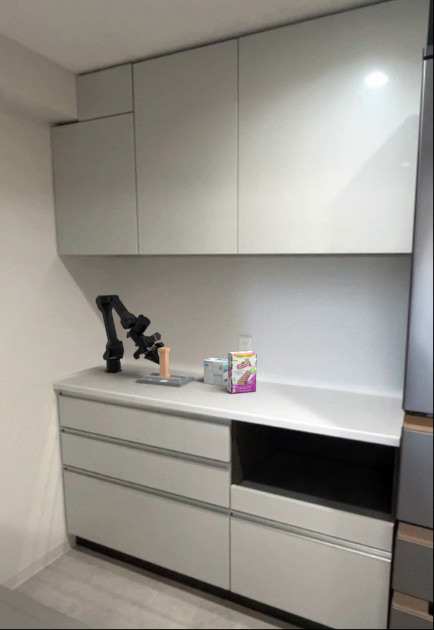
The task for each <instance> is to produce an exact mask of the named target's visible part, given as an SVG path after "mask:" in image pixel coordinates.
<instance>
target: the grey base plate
mask: <svg viewBox="0 0 434 630" xmlns="http://www.w3.org/2000/svg"><path fill="white" fill-rule="evenodd" d="M159 375H160V372H156V371H155V372H154V371H153V372H151V373H149V374H145V375H143V376H142V377H139V378H136V383H138V384H147V385H154V386H155V385H156V386H163V387H174V388H182V387H183V386H185V385H187V384H189V383H192V382H193V381H195V376H189V375H186V374H175V373H174V374H173V373H169V375H170V377H161V376H159Z"/></svg>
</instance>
